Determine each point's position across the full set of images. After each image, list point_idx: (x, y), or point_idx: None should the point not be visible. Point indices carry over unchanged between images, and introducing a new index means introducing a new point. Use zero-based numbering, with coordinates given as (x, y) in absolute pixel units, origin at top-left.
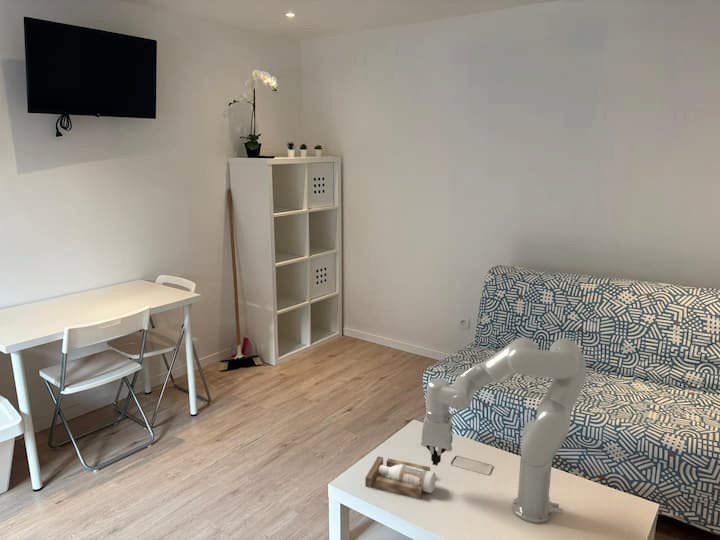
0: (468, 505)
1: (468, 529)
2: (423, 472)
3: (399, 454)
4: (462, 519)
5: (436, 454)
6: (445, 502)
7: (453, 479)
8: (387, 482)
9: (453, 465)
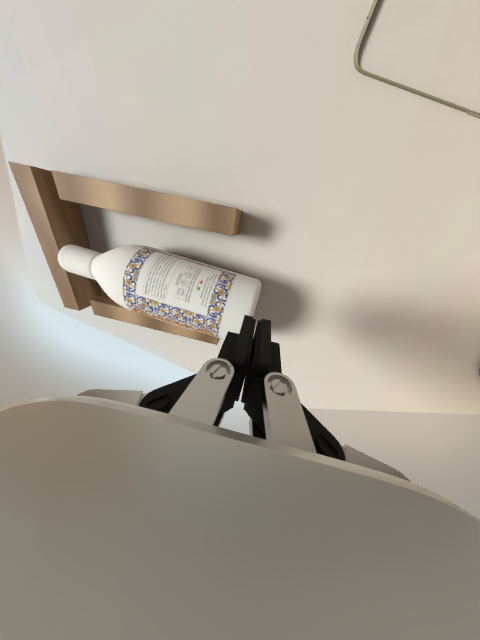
0: (347, 343)
1: (323, 401)
2: (208, 324)
3: (77, 23)
4: (317, 381)
5: (246, 400)
6: (286, 336)
7: (333, 220)
8: (125, 321)
9: (367, 73)
